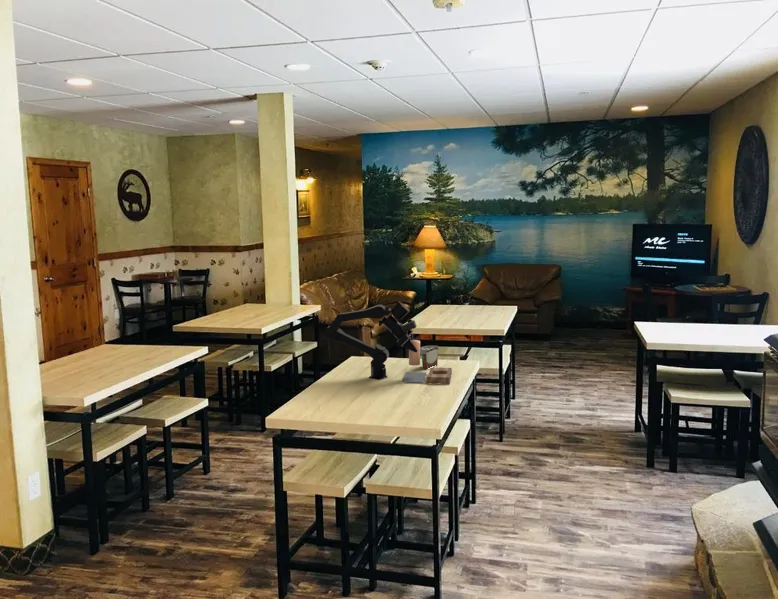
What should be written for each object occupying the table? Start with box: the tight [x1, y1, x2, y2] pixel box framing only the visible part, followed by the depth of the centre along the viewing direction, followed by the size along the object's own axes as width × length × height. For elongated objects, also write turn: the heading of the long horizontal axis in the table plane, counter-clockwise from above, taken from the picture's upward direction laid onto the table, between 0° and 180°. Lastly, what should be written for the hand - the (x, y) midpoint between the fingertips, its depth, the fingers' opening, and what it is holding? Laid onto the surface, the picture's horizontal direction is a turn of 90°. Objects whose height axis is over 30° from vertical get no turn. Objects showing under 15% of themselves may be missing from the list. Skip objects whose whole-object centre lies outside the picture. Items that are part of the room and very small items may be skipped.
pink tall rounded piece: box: [408, 339, 421, 367], centre depth 306 cm, size 5×5×11 cm
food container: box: [420, 345, 439, 370], centre depth 329 cm, size 12×6×10 cm, turn 144°
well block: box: [427, 367, 453, 385], centre depth 306 cm, size 10×18×3 cm, turn 172°
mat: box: [401, 371, 427, 384], centre depth 308 cm, size 10×18×1 cm, turn 172°
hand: (417, 350), depth 306 cm, fingers closed on pink tall rounded piece, 5 cm apart
